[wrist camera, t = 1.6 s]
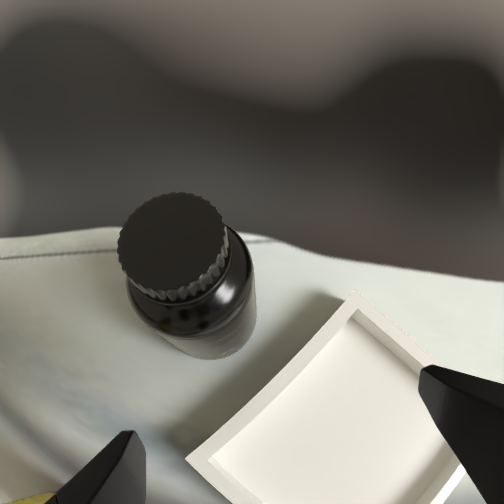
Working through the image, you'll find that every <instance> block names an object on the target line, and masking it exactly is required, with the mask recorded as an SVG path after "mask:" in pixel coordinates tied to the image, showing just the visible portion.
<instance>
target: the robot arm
mask: <svg viewBox="0 0 504 504" xmlns="http://www.w3.org/2000/svg"><path fill="white" fill-rule="evenodd" d="M418 392H419V395H420V397H421V398H422V400H423V402H424V404H425V406H426V408H427V410H428V412H429V414H430V415H431V417H432V419H433V421H434V423H435V425H436V427H437V428H438V430H439V431H440V433H441V434H442V436H443V437H444V439H445V440H446V442H447V443H448V445H449V446H450V448H451V449H452V451H453V452H454V454H455V455H456V457H457V458H458V460H459V461H460V463H461V464H462V466H463V467H464V469H465V470H466V472H467V473H468V475H469V476H470V478H471V479H472V481H473V483H474V484H475V486H476V487H477V489H478V490H479V492H480V494H481V495H482V497H483V498H484V500H485V501H486V503H487V504H504V384H501V383H498V382H494V381H490V380H486V379H483V378H479V377H475V376H472V375H468V374H465V373H461V372H457V371H454V370H451V369H447V368H444V367H440V366H437V365H433V364H431V365H428V366H426V367H423V368H422V369H421V371H420V376H419V384H418ZM145 500H146V451H145V448H144V446H143V444H142V442H141V440H140V438H139V436H138V435H137V433H136V432H135V431H134V430H124V431H121V432H120V433H119V434H118V435H117V436H116V437H115V438H114V439H113V440H112V441H111V442H110V443H109V444H108V445H107V446H106V447H105V448H103V449H102V450H101V451H100V452H99V453H98V454H97V455H96V456H95V457H94V458H93V459H92V460H91V461H90V462H89V463H88V464H87V465H86V466H85V467H83V468H82V469H81V470H80V471H79V472H78V473H77V474H76V475H75V476H74V477H73V478H72V479H71V480H70V481H68V482H67V483H66V484H65V485H64V486H63V487H62V488H61V489H60V490H59V491H58V492H57V493H56V495H55V494H54V495H53V496H52V497H51V498H50V499H49V500H48V501H46V502H45V503H44V504H145Z"/></svg>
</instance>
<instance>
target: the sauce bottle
mask: <svg viewBox="0 0 504 504" xmlns="http://www.w3.org/2000/svg"><path fill="white" fill-rule="evenodd" d="M56 493H57V492H54V493H43V494H39V495H35V496H32V497H28V498H24V499H20V500H16V501H12V502H8V503H3V504H44V503H45V502H46V501H48V500H49V499H50V498H51V497H52V496H53V495H54V494H55V495H56Z"/></svg>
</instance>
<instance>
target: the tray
mask: <svg viewBox="0 0 504 504" xmlns="http://www.w3.org/2000/svg"><path fill="white" fill-rule="evenodd" d="M431 364H433V365H437V366H440V367H443V366H442V365H441V364H440V363H439V362H438V361H437V360H436V359H435V358H433V357H432V356H431V355H430V354H429V353H428V352H427V351H426V350H425V349H423V348H422V347H421V346H420V345H419V344H418V343H417V342H416V341H414V340H413V339H412V338H411V337H410V336H409V335H408V334H406V333H405V332H404V331H403V330H402V329H401V328H400V327H398V326H397V325H396V324H395V323H394V322H393V321H392V320H390V319H389V318H388V317H387V316H386V315H385V314H383V313H382V312H381V311H380V310H379V309H378V308H376V307H375V306H374V305H373V304H372V303H371V302H369V301H368V300H367V299H366V298H365V297H364V296H362V295H361V294H360V293H359V292H358V291H356V290H354V291H353V292H352V294H351V295H350V296H349V297H348V298H347V299H346V301H345V302H344V303H343V304H342V305H341V306H340V307H339V309H338V310H337V311H336V312H335V313H334V314H333V315H332V316H331V318H330V319H329V320H328V321H327V322H326V323H325V324H324V325H323V326H322V328H321V329H320V330H319V331H318V332H317V333H316V334H315V335H314V336H313V337H312V338H311V340H310V341H309V342H308V343H307V344H306V345H305V346H304V347H303V348H302V349H301V350H300V351H299V352H298V353H297V354H296V355H295V356H294V357H293V359H292V360H291V361H290V362H289V363H288V364H287V365H286V366H285V367H284V368H283V369H282V370H281V371H280V372H279V373H278V374H277V375H276V376H275V377H274V378H273V379H272V380H271V381H270V382H269V383H268V384H267V385H266V386H265V387H264V388H263V389H262V390H261V391H260V392H258V393H257V394H256V395H255V396H254V397H253V398H252V399H251V400H250V401H249V402H248V403H247V404H246V405H245V406H244V407H243V408H242V409H241V410H239V411H238V412H237V413H236V414H235V415H234V416H233V417H232V418H231V419H230V420H229V421H227V422H226V423H225V424H224V425H223V426H222V427H221V428H220V429H219V430H217V431H216V432H215V433H214V434H213V435H212V436H211V437H209V438H208V439H207V440H206V441H205V442H204V443H202V444H201V445H200V446H199V447H198V448H197V449H195V450H194V451H193V452H192V453H191V454H189V455H188V456H187V457H186V458H185V460H186V461H187V462H188V463H189V464H190V465H191V466H192V467H193V468H194V469H196V470H197V471H198V472H199V473H200V474H201V475H202V476H203V477H204V478H205V479H206V480H207V481H208V482H209V483H210V484H211V485H212V486H214V487H215V488H216V489H217V490H218V491H219V492H220V493H221V494H222V495H224V496H225V497H226V498H227V499H228V500H229V501H230V502H232V503H233V504H442V503H443V502H444V501H445V500H446V498H447V497H448V496H449V494H450V493H451V492H452V490H453V489H454V488H455V486H456V485H457V484H458V482H459V481H460V480H461V478H462V477H463V475H464V474H465V473H466V470H465V469H464V467H463V466H462V464H461V463H460V461H459V460H458V458H457V457H456V455H455V454H454V452H453V451H452V449H451V448H450V446H449V445H448V443H447V442H446V440H445V439H444V437H443V436H442V434H441V433H440V431H439V430H438V428H437V427H436V425H435V423H434V421H433V419H432V417H431V415H430V414H429V412H428V410H427V408H426V406H425V404H424V402H423V400H422V398H421V397H420V395H419V392H418V384H419V376H420V371H421V369H422V368H423V367H426V366H428V365H431ZM444 368H445V367H444Z"/></svg>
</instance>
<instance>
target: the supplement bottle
mask: <svg viewBox="0 0 504 504" xmlns="http://www.w3.org/2000/svg"><path fill="white" fill-rule="evenodd" d="M117 243H118V248H117V253H118V255H119V263H120V264H121V265H122V270H123V272H124V273H125V274H126V288H127V294H128V298H129V300H130V303H131V305H132V307H133V309H134V311H135V312H136V314H137V315H138V316H139V318H140V319H141V320H142V321H143V322H144V323H145V324H146V325H147V326H148V327H150V328H151V329H152V330H154V331H155V332H156V333H158V334H159V335H160V336H162V337H163V338H164V339H166V340H167V341H168V342H170V343H171V344H173V345H174V346H175V347H177V348H178V349H180V350H181V351H183V352H184V353H186V354H188V355H190V356H192V357H195V358H198V359H204V360H216V359H221V358H225V357H227V356H230V355H232V354H233V353H235V352H237V351H238V350H239V349H240V348H242V347H243V346H244V345H245V343H246V342H247V341H248V340H249V338H250V336H251V334H252V332H253V330H254V327H255V323H256V316H257V315H256V294H255V279H254V268H253V263H252V258H251V255H250V252H249V250H248V248H247V246H246V244H245V242H244V241H243V239H242V238H241V237H240V236H239V235H238V234H237V232H235V231H234V230H233V229H232V228H231V227H229V226H228V225H226V224H225V223H223V220H222V216H221V215H220V214H219V213H218V212H217V209H216V207H214V206H212V205H211V204H210V202H209V201H207V200H204V199H203V198H202V197H201V196H195V195H194V194H193V193H184V192H179V193H175V192H171V193H169V194H162V195H160V196H157V197H153V198H152V199H150V200H149V201H146V202H144V203H143V204H142V205H141V206H140V207H137V208H136V210H135V211H134V212H133V213H132V214H130V215H129V218H128V220H127V221H126V222H125V223H124V225H123V229H122V230H121V231H120V237H119V239H118V241H117Z"/></svg>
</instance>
